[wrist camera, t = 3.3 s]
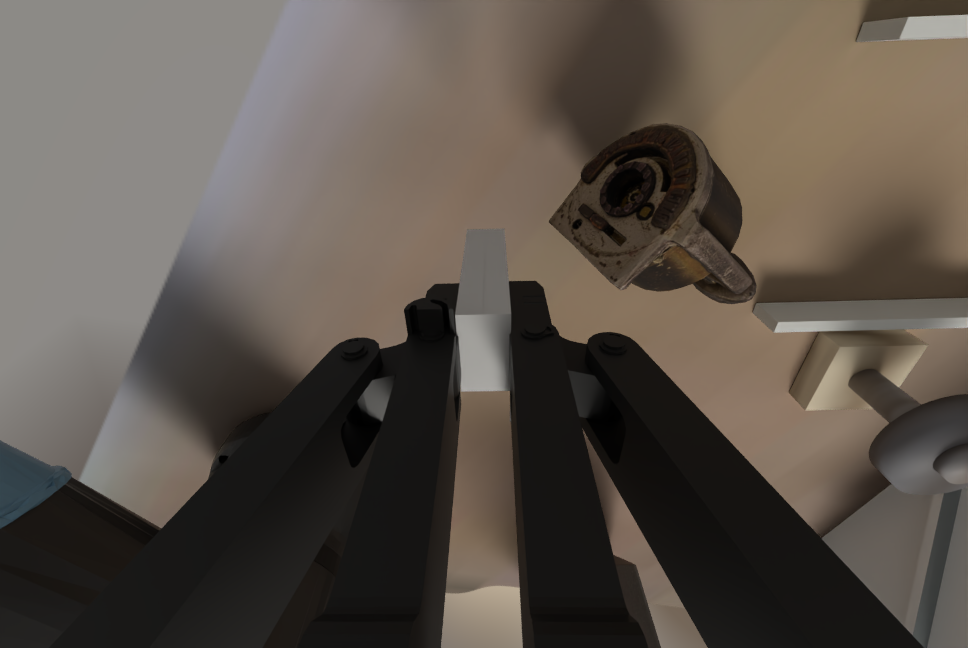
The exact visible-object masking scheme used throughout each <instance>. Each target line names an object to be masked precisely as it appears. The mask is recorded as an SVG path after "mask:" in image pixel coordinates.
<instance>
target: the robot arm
mask: <svg viewBox="0 0 968 648" xmlns="http://www.w3.org/2000/svg"><path fill="white" fill-rule="evenodd" d="M404 313H405V319H406V326H407V332H408V337H407V340H406V342H404V343H402V344H399V345H396V346H392V347H388V348H383V349H380V348H379V344H378V343H377V342H376V341H375V340H373V339H369V338H354V339H349V340H346V341H344V342H341V343H339V344H338V345H336V346H335V347H334V348H333V349H332V350H331V351H330V352H329V353H328V354H327V355H326V356H325V357H324V358H323V359H322V360H321V361H320V362H319V363H318V364H317V365H316V366H315V367H314V369H313V370H312V371H311V372H310V373H309V374H308V375H307V376H306V377H305V378H304V379H303V380H302V381H301V382H300V383H299V384H298V385H297V386H296V387H295V389H294V390H293V391H292V392H291V393H290V394H289V395H288V396H287V397H286V398H285V399H284V400H283V401H282V402H281V403H280V404H279V405H278V406H277V408H276V409H275V410H274V411H273V412H272V413H268V414H264V415H260V416H257V417H254V418H251V419H249V420H247V421H245V422H244V423H242V424H240V425H239V426H238V427H237V428H235V429H234V430H233V431H232V433H231V434H230V435H229V437H228V438H227V440H226V441H225V443H224V444H223V446H222V447H221V448H220V450H219V451H218V453H217V455H216V457H215V459H214V461H213V463H212V467H211V471H210V475H209V478H208V480H207V481H206V482H205V483H204V485H203V486H202V487H201V488H200V489H199V490H198V491H197V492H196V493H195V494H194V495H193V496H192V497H191V498H190V499H189V500H188V501H187V502H186V503H185V505H184V506H183V507H182V508H181V509H180V510H179V511H178V512H177V513H176V514H175V515H174V516H173V517H172V518H171V519H170V520H169V521H168V522H167V524H166V525H165V526H164V527H163V528H162V529H161V528H160V527H158V526H156V525H154V524H153V523H151V522H149V521H147V520H146V519H144V518H142V517H140V516H139V515H137V514H135V513H133V512H132V511H130V510H128V509H126V508H125V507H123V506H121V505H119V504H118V503H116V502H114V501H112V500H111V499H109V498H107V497H105V496H104V495H102V494H100V493H98V492H97V491H95V490H93V489H92V488H90V487H88V486H86V485H85V484H83V483H81V482H79V481H78V480H76V479H74V478H72V476H71V475H72V474H71V473H70V472H69V471H68V470H67V469H66V468H65V467H62V466H50V465H48V464H46V463H44V462H42V461H40V460H38V459H36V458H34V457H32V456H30V455H28V454H26V453H24V452H22V451H20V450H18V449H16V448H14V447H12V446H10V445H8V444H6V443H4V442H2V441H0V648H441V638H442V626H443V614H444V602H445V590H446V578H447V566H448V554H449V542H450V530H451V518H452V506H453V494H454V482H455V470H456V458H457V446H458V434H459V422H460V410H461V397H460V385H461V391H510V422H511V430H512V449H513V468H514V487H515V506H516V525H517V544H518V563H519V582H520V598H521V599H520V601H521V620H522V637H523V638H522V639H523V648H648V645H647V642H646V638H645V635H644V633H643V631H642V629H641V627H640V625H639V623H638V622H637V621H636V620H635V619H634V618H633V617H632V616H631V615H630V614H629V612H628V610H627V607H626V604H625V601H624V597H623V593H622V589H621V585H620V581H619V577H618V573H617V569H616V565H615V560H614V556H613V552H612V548H611V544H610V540H609V536H608V532H607V528H606V524H605V520H604V516H603V512H602V507H601V503H600V499H599V495H598V491H597V487H596V483H595V479H594V475H593V471H592V467H591V463H590V459H589V454H588V450H587V446H586V442H585V438H584V434H583V430H584V432H585V434H586V435H587V437H588V439H589V441H590V442H591V444H592V446H593V448H594V449H595V451H596V453H597V455H598V456H599V458H600V460H601V462H602V463H603V465H604V467H605V469H606V470H607V472H608V474H609V476H610V477H611V479H612V481H613V483H614V484H615V486H616V488H617V490H618V491H619V493H620V495H621V497H622V498H623V500H624V502H625V504H626V505H627V507H628V509H629V511H630V512H631V514H632V516H633V518H634V519H635V521H636V523H637V525H638V526H639V528H640V530H641V532H642V533H643V535H644V537H645V539H646V540H647V542H648V544H649V546H650V547H651V549H652V551H653V553H654V554H655V556H656V558H657V560H658V561H659V563H660V565H661V567H662V568H663V570H664V572H665V574H666V575H667V577H668V579H669V581H670V582H671V584H672V586H673V588H674V589H675V591H676V593H677V595H678V596H679V598H680V600H681V602H682V603H683V605H684V607H685V609H686V610H687V612H688V614H689V616H690V617H691V619H692V621H693V622H694V624H695V626H696V628H697V629H698V631H699V633H700V635H701V637H702V638H703V640H704V642H705V644H706V645H707V647H708V648H924V647H923V646H922V645H921V644H920V643H919V642H918V641H917V640H916V638H915V637H914V636H913V635H912V634H911V633H910V632H909V631H908V630H907V629H906V628H905V627H904V626H903V625H902V624H901V623H900V621H899V620H898V619H897V618H896V617H895V616H894V615H893V614H892V613H891V612H890V611H889V610H888V609H887V608H886V607H885V606H884V605H883V603H882V602H881V601H880V600H879V599H878V598H877V597H876V596H875V595H874V594H873V593H872V592H871V591H870V590H869V589H868V588H867V587H866V585H865V584H864V583H863V582H862V581H861V580H860V579H859V578H858V577H857V576H856V575H855V574H854V573H853V572H852V571H851V570H850V568H849V567H848V566H847V565H846V564H845V563H844V562H843V561H842V560H841V559H840V558H839V557H838V556H837V555H836V554H835V553H834V552H833V550H832V549H831V548H830V547H829V546H828V545H827V544H826V543H825V542H824V541H823V540H822V539H821V538H820V537H819V536H818V535H817V534H816V532H815V531H814V530H813V529H812V528H811V527H810V526H809V525H808V524H807V523H806V522H805V521H804V520H803V519H802V518H801V517H800V516H799V514H798V513H797V512H796V511H795V510H794V509H793V508H792V507H791V506H790V505H789V504H788V503H787V502H786V501H785V500H784V499H783V497H782V496H781V495H780V494H779V493H778V492H777V491H776V490H775V489H774V488H773V487H772V486H771V485H770V484H769V483H768V482H767V481H766V479H765V478H764V477H763V476H762V475H761V474H760V473H759V472H758V471H757V470H756V469H755V468H754V467H753V466H752V465H751V464H750V463H749V461H748V460H747V459H746V458H745V457H744V456H743V455H742V454H741V453H740V452H739V451H738V450H737V449H736V448H735V447H734V446H733V444H732V443H731V442H730V441H729V440H728V439H727V438H726V437H725V436H724V435H723V434H722V433H721V432H720V431H719V430H718V429H717V428H716V426H715V425H714V424H713V423H712V422H711V421H710V420H709V419H708V418H707V417H706V416H705V415H704V414H703V413H702V412H701V411H700V410H699V408H698V407H697V406H696V405H695V404H694V403H693V402H692V401H691V400H690V399H689V398H688V397H687V396H686V395H685V394H684V393H683V392H682V390H681V389H680V388H679V387H678V386H677V385H676V384H675V383H674V382H673V381H672V380H671V379H670V378H669V377H668V376H667V375H666V373H665V372H664V371H663V370H662V369H661V368H660V367H659V366H658V365H657V364H656V363H655V362H654V361H653V360H652V359H651V358H650V357H649V355H648V354H647V353H646V352H645V351H644V350H643V349H642V348H641V347H640V346H639V345H638V344H637V343H636V342H635V341H634V340H632V339H631V338H630V337H627V336H625V335H622V334H619V333H613V332H603V333H598V334H595V335H593V336H592V337H590V338H589V339H588V343H587V344H583V343H577V342H573V341H569V340H567V339H564V338H562V337H561V336H559V332H558V331H557V329H556V327H554V326H553V325H552V323H551V319H550V315H549V310H548V306H547V302H546V297H545V293H544V289H543V287H542V286H541V285H540V284H539V283H537V282H536V281H509V280H508V268H507V256H506V243H505V231H504V229H470V230H467V234H466V242H465V249H464V256H463V263H462V270H461V277H460V283H457V284H435V285H433V286H432V287H431V288H430V289H429V290H428V291H427V294H426V298H421V299H418V300H415V301H413V302H411V303H410V304H408V305H407V306H406V308H405V309H404ZM582 428H583V430H582Z"/></svg>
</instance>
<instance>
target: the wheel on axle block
mask: <svg viewBox="0 0 968 648" xmlns="http://www.w3.org/2000/svg"><path fill="white" fill-rule="evenodd" d="M927 346H928V344H926V343H925V342H923V341H921V340H920V339H918V338H917V337H915V336H913V335H912V334H910V333H909V332H907V331H905V330H904V329H896V330H855V331H819V333H818V335H817V337H816V339H815V341H814V343H813V345H812V347H811V349H810V351H809V353H808V355H807V357H806V359H805V361H804V363H803V365H802V367H801V369H800V371H799V373H798V375H797V377H796V379H795V381H794V383H793V385H792V387H791V389H790V391H789V394H790V395H791V396H792V397H793V398H794V399H795V400H796V401H797V402H798V403H799V404H800V405H801V406H802V407H803V409H804V410H849V409H874V410H876V411H877V412H878V413H879V414H880V415H881V416H882V417H884V418H885V419H886V420H887V421H888V422H889V424H888V425H887V426H886V427H885V428H884V429H883V430H882V431H881V432H880V433H879V434H878V435H877V436H876V438H875V439H874V441H873V442H872V444H871V447H870V450H869V458H870V461H871V463H872V464H873V465H874V466H875V467H876V468H877V469H878V470H879V471H880V472H881V473H882V474H883V475H884V476H885V477H886V478H887V479H888V480H889V482H890V483H891V484H892V485H893V486H894V487H895V488H897V489H898V490H900V491H902V492H905V493H908V494H914V495H935V494H942V493H948V492H952V491H956V490H960V489H963V488H966V487H968V394H964V395H955V396H949V397H944V398H940V399H937V400H934V401H931V402H928V403H925V404H922V405H921V404H919V403H918V402H917V401H916V400H914V399H913V398H912V397H910V396H909V395H908V394H907V393H905V392H904V391H903V390H901V389H900V388H899V387H900V386H901V384H902V383H903V381H904V380H905V378H906V377H907V375H908V374H909V373H910V371H911V370H912V368H913V367H914V365H915V364H916V362H917V361H918V359H919V358H920V357H921V355H922V354H923V352H924V351H925V349H926V348H927Z"/></svg>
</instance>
